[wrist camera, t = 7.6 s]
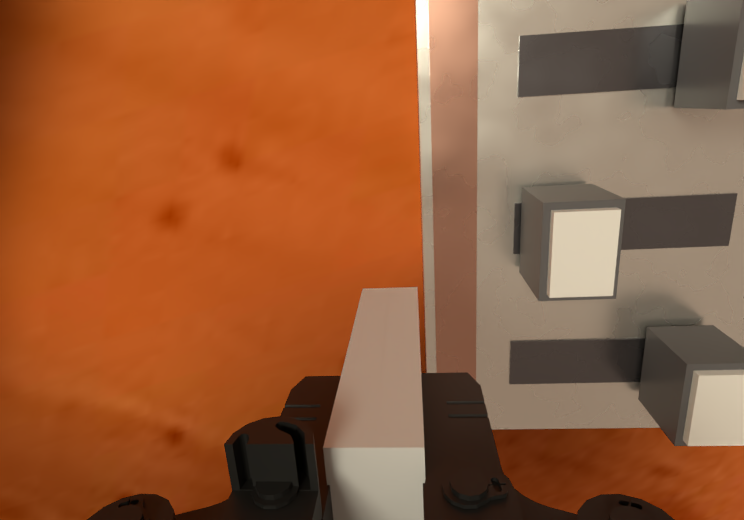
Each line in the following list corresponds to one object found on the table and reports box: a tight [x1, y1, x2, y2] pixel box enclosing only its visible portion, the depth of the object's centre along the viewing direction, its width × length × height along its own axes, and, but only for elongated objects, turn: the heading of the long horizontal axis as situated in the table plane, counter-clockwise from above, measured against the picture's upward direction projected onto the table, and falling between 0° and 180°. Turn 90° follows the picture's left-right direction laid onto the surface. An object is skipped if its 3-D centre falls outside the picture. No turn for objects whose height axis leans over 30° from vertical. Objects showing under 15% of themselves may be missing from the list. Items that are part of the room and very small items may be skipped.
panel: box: [415, 0, 744, 430], centre depth 23 cm, size 18×22×2 cm
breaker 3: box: [638, 325, 744, 446], centre depth 22 cm, size 3×4×4 cm
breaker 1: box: [519, 184, 626, 301], centre depth 21 cm, size 3×4×4 cm
